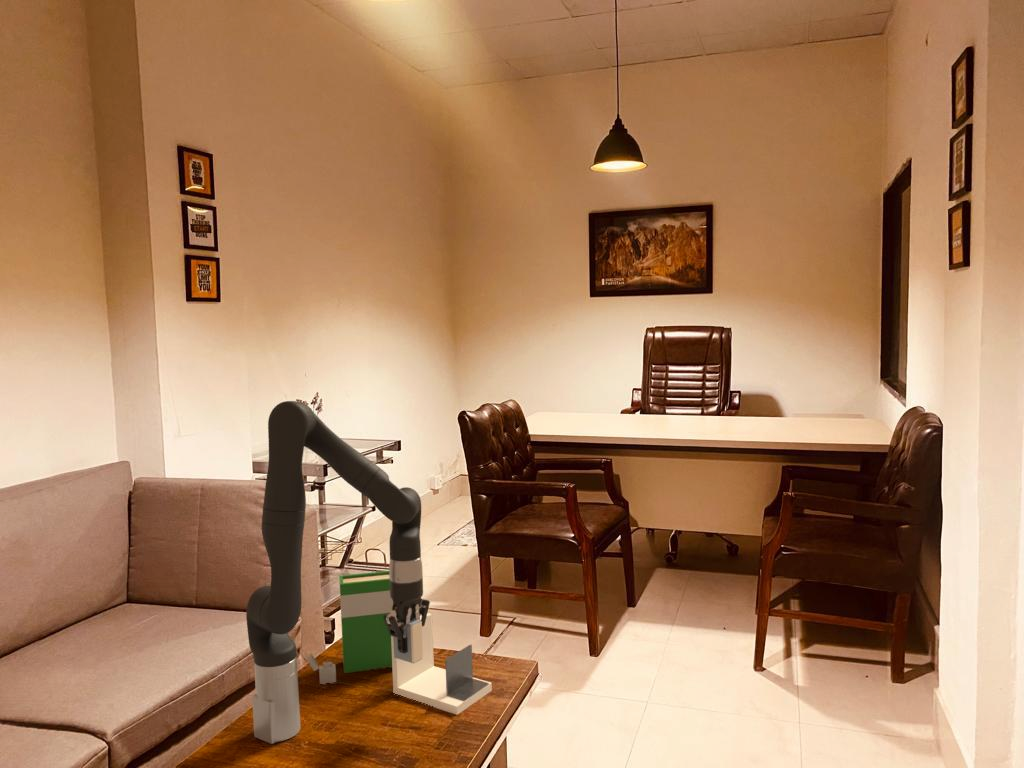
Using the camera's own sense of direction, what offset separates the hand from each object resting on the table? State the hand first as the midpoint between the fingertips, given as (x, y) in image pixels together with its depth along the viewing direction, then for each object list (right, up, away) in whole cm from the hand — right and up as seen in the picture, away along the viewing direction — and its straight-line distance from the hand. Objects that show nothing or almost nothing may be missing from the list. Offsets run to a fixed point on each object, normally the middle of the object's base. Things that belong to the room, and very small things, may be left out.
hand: (408, 649), depth 182 cm
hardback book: (-13, -15, +32) cm, 38 cm away
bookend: (+13, -14, +11) cm, 22 cm away
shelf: (+7, -15, +14) cm, 22 cm away
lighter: (-25, -16, +21) cm, 36 cm away
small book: (0, -2, 0) cm, 2 cm away
